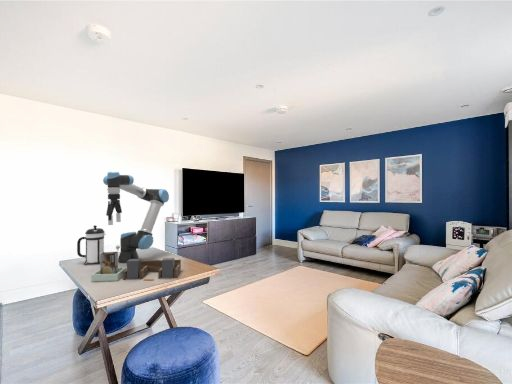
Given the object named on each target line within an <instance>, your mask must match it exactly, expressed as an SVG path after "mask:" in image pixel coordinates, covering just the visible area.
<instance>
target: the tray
mask: <svg viewBox="0 0 512 384" xmlns="http://www.w3.org/2000/svg"><path fill="white" fill-rule="evenodd" d="M126 269H127V267H118V273H117V274H100V269H99V270H97V271H95V272H94V273H92V274H91V275H90V277H91V283H102V282H103V283H104V282H108V283H109V282H119V281H120V280H121V279H123V272H124V271H125V270H126Z"/></svg>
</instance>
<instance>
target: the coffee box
mask: <svg viewBox="0 0 512 384" xmlns="http://www.w3.org/2000/svg"><path fill="white" fill-rule="evenodd" d="M118 258H119V252H118V251H104V252H103V253H102V254H100V264H99V266H100V267H99V270H100V274H117V273H118V268H119V262H118Z"/></svg>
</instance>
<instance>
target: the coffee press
mask: <svg viewBox="0 0 512 384" xmlns="http://www.w3.org/2000/svg"><path fill="white" fill-rule="evenodd" d="M84 235H85V236H81V237H80V238H78V240H77V243H76V244H77V246H76V253H77V256H78V257H80V258H85V261H84V262H83V263H84V264H83V265H84V266H87V265H88V264H95V263H96V264H97V265H100V254H102V253H103V252H105V250H104V249H105V245H104V244H105V236H106V235H107V234H106V232H105V230H104V229H103V228H99V227H97V225H96V224H95V225H93V227H92V228H89V229H87V230H86V231H85V234H84ZM83 240H85V254H81V241H83Z"/></svg>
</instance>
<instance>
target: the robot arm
mask: <svg viewBox="0 0 512 384" xmlns="http://www.w3.org/2000/svg"><path fill="white" fill-rule="evenodd" d="M134 180H135V179H134V177H133V176H132V175H131V174H130V175H129V174H120V172H119V171H108V172H107V174H106V175H105V176H104V177H103V179H102V182H103V184H104V185H105V186H107V188H106V189H107V190H106V191H107V193H108V194H107V200H108V201H107V208H106V214H105V215H106V216H107V221H108V223H107V225H108V226H113V225H114V219H113V218H114V215H113V213H114V209H115V212H116V213H115V214H116V215H115V217H116V218H115V219H116V220H115V221H116V223H121V222H122V220H121V217H122V215H121V214H122V212H123V211H122V206H121V201H120V199H121V194H120V193H121V190H122V191H124V192H127V193H129V194H132V195H134V196H137V198H139V199H141V200H143V201H146V202H149V203H150V205H149V208H148V209H147V213H146V215H145V218H144V221H143V222H142V225H141V227H140V229H139V230H138V231H137V232H136V231H130V232H129V231H128V232H125V233H121V234H120V240H119V241H120V246H119V247H120V252H119V254H118V263H120V264H127V261H128V260H129V259H140V258H139V255H138V252H137V250H147V249H150V248H151V247H152V245H153V243H154V237H153V233H152V231H153V229H154V227H155V223H156V221H157V219H158V215H159V213H160V210H161V208H162V207H163V206H165V203H168V201H169V200H170V195H169V192H168V190H167V189H162V188H159V189H158V188H155V189H154V188H145V187H140V186H138V185H135V184H134V183H135V181H134Z"/></svg>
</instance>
